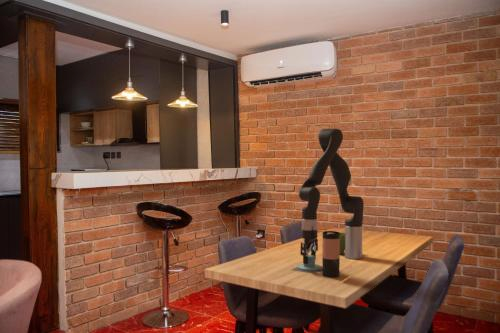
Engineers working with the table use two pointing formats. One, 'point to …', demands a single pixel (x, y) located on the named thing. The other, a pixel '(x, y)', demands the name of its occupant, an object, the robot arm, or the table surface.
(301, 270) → the mat
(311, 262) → the lid
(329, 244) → the travel mug
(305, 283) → the table surface
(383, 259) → the table surface
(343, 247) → the plant pot
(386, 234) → the table surface
